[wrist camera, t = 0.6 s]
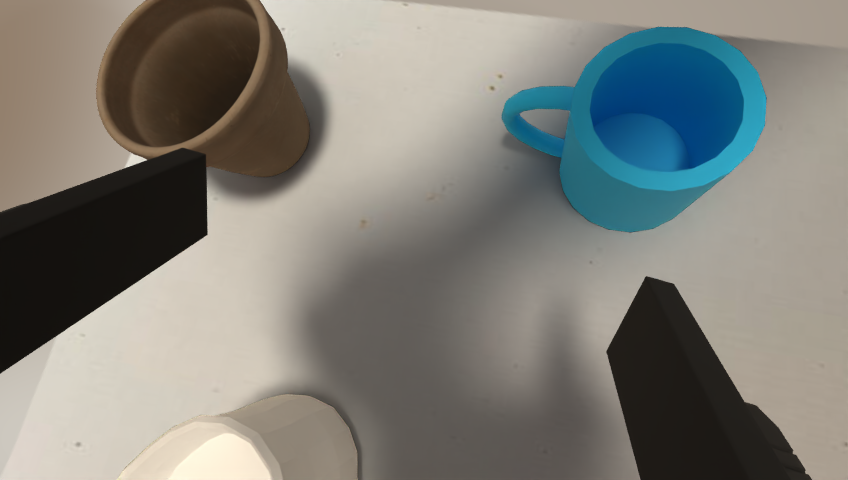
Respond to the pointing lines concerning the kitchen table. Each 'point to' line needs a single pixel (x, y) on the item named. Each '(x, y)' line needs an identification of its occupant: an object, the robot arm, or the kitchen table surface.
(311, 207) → the kitchen table surface
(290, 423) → the cup
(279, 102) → the flower pot
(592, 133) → the mug
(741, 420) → the robot arm
